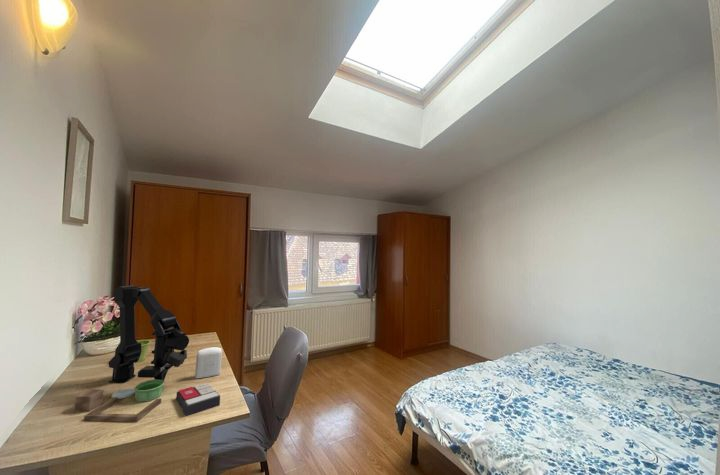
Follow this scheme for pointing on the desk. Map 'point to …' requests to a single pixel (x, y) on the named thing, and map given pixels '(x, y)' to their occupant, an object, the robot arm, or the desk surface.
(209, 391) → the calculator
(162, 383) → the ramekin
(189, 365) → the desk surface
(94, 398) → the walnut block
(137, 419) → the bay
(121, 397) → the pale grey dome
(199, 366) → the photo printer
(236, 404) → the desk surface
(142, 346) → the plant pot
